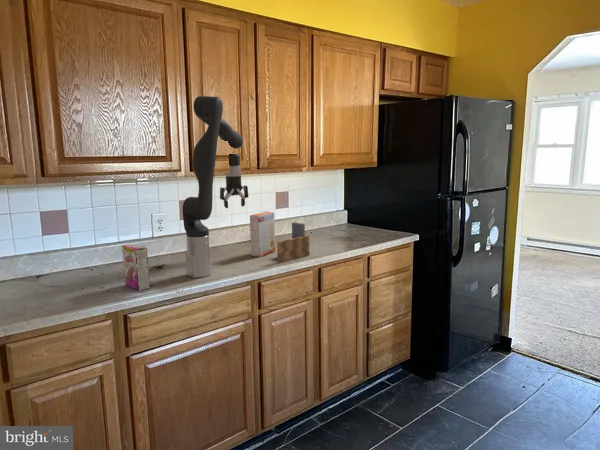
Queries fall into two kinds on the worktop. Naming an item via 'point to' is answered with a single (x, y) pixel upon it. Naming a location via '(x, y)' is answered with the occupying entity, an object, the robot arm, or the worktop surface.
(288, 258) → the shelf wall
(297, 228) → the bookend
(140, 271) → the candy bar box
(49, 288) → the worktop surface
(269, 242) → the cracker box
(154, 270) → the worktop surface
